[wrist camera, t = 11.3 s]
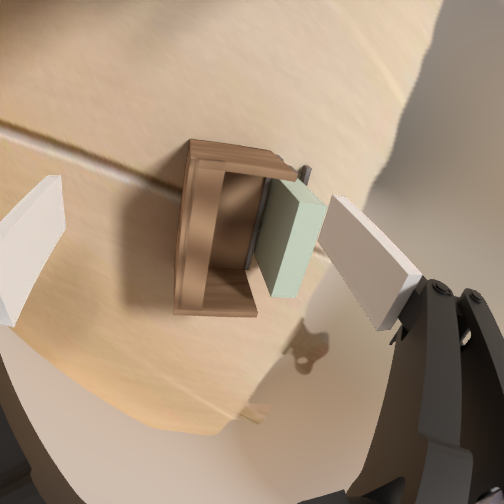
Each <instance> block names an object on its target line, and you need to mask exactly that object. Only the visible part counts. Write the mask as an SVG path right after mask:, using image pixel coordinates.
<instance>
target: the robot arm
mask: <svg viewBox="0 0 504 504" xmlns="http://www.w3.org/2000/svg"><path fill="white" fill-rule="evenodd" d="M65 229H66V223H65V215H64V206H63V195H62V182H61V175H47V176H46V177H45V178H44V179H43V180H42V181H41V182H40V183H38V184H37V185H36V186H35V187H34V188H33V189H32V190H31V191H30V192H29V193H28V194H27V195H26V196H25V197H24V198H23V199H22V200H21V201H20V202H19V203H18V204H17V205H16V206H15V207H14V208H13V209H12V210H11V211H10V212H9V213H8V214H7V215H6V216H5V217H4V219H3V220H2V221H1V222H0V325H3V326H9V327H15V324H16V322H17V320H18V317H19V315H20V313H21V311H22V308H23V306H24V304H25V302H26V300H27V298H28V296H29V294H30V292H31V290H32V288H33V286H34V284H35V282H36V280H37V278H38V276H39V274H40V272H41V270H42V268H43V267H44V265H45V263H46V261H47V259H48V258H49V256H50V254H51V252H52V251H53V249H54V247H55V245H56V244H57V242H58V240H59V239H60V237H61V235H62V234H63V232H64V231H65ZM318 242H319V244H320V245H321V247H322V248H323V250H324V251H325V253H326V254H327V255H328V257H329V258H330V260H331V261H332V263H333V264H334V266H335V267H336V269H337V270H338V272H339V273H340V275H341V276H342V277H343V279H344V281H345V282H346V284H347V285H348V287H349V288H350V290H351V292H352V293H353V295H354V296H355V298H356V299H357V301H358V302H359V304H360V306H361V307H362V308H363V310H364V312H365V313H366V315H367V317H368V318H369V320H370V321H371V323H372V325H373V326H374V328H375V330H376V331H383V330H390V329H391V328H392V326H393V325H394V323H395V322H396V320H397V319H398V318H399V320H400V322H401V323H402V325H401V326H400V328H399V329H398V331H397V333H396V334H395V336H394V337H393V339H392V340H391V342H390V344H389V345H392V344H393V342H395V341H396V345H395V350H394V355H393V360H392V365H391V370H390V375H389V380H388V384H387V388H386V393H385V397H384V401H383V405H382V409H381V412H380V416H379V420H378V423H377V427H376V430H375V433H374V437H373V440H372V443H371V446H370V449H369V452H368V455H367V458H366V461H365V464H364V467H363V469H362V471H361V473H360V475H359V476H358V478H357V479H356V480H355V481H354V482H353V483H352V485H351V486H350V488H349V490H348V491H347V493H346V494H345V491H344V490H341V491H338V492H334V493H331V494H328V495H324V496H321V497H317V498H313V499H310V500H306V501H302V502H300V503H297V504H504V338H503V336H502V334H501V332H500V330H499V327H498V325H497V323H496V321H495V319H494V317H493V315H492V313H491V311H490V309H489V307H488V305H487V303H486V301H485V300H484V298H483V297H482V296H481V294H480V293H478V292H477V291H476V290H472V289H468V288H467V289H465V290H464V291H463V293H462V295H461V297H456V296H454V295H453V293H452V291H451V290H450V289H449V288H448V287H447V286H446V285H445V284H443V283H442V282H440V281H437V280H434V279H430V280H427V279H426V278H425V277H424V276H423V275H422V273H421V272H420V271H419V270H418V269H417V268H416V267H415V266H414V265H413V264H412V263H411V261H410V260H409V259H408V258H407V257H406V256H405V255H404V254H403V253H402V252H401V251H400V250H399V249H398V248H397V247H396V246H395V245H394V244H393V243H392V242H391V241H390V239H388V237H386V235H385V234H383V232H382V231H381V230H380V229H379V228H378V227H376V225H374V223H372V222H371V221H370V220H369V219H368V218H367V217H366V216H365V215H364V214H363V213H362V212H361V211H360V210H359V209H358V208H357V207H356V206H355V205H354V204H353V203H351V202H350V201H349V200H348V199H347V198H346V197H345V196H339V195H332V197H331V200H330V204H329V207H328V210H327V213H326V217H325V220H324V223H323V226H322V229H321V232H320V235H319V238H318ZM469 331H471V338H470V339H469V340H468V342H467V343H466V344H465V345H463V342H462V340H463V339H464V338H465V337H466V335H467V334H468V332H469ZM0 504H86V503H85V502H84V501H83V500H82V499H81V498H80V497H79V496H78V495H77V494H76V492H75V491H74V490H73V489H72V487H71V486H70V485H69V483H68V482H67V480H66V479H65V478H64V476H63V475H62V473H61V472H60V471H59V469H58V467H57V466H56V465H55V463H54V462H53V460H52V458H51V457H50V455H49V454H48V452H47V450H46V449H45V448H44V445H43V444H42V442H41V440H40V439H39V437H38V435H37V433H36V432H35V430H34V428H33V426H32V424H31V422H30V421H29V419H28V417H27V415H26V413H25V411H24V409H23V407H22V405H21V403H20V401H19V399H18V396H17V394H16V392H15V390H14V387H13V385H12V383H11V380H10V378H9V376H8V373H7V371H6V368H5V366H4V363H3V360H2V357H1V354H0Z"/></svg>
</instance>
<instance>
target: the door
mask: <svg viewBox="0 0 504 504" xmlns="http://www.w3.org/2000/svg"><path fill="white" fill-rule="evenodd" d="M326 210H327V206H326V205H325V204H324V203H323V202H322V201H321V200H320V199H319V198H318V197H317V196H316V195H315V194H314V193H313V192H312V191H311V190H310V189H309V188H308V187H307V186H306V185H305V184H304V183H302V182H301V181H300V180H299V179H298V178H297V180H296V182H292V181H286V180H280V179H274V178H272V181H271V185H270V189H269V193H268V198H267V202H266V206H265V210H264V214H263V218H262V222H261V226H260V230H259V234H258V238H257V242H256V246H255V250H254V254H255V257H256V260H257V262H258V265H259V267H260V270H261V272H262V275H263V278H264V280H265V283H266V285H267V288H268V291H269V293H270V296H271V297H284V298H296V296H297V293H298V290H299V288H300V285H301V282H302V280H303V277H304V274H305V271H306V269H307V266H308V263H309V260H310V257H311V254H312V252H313V249H314V246H315V243H316V240H317V237H318V234H319V231H320V228H321V225H322V222H323V219H324V216H325V213H326Z"/></svg>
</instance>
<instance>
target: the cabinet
mask: <svg viewBox="0 0 504 504" xmlns="http://www.w3.org/2000/svg"><path fill="white" fill-rule="evenodd" d="M311 170H312V168H310V167H309V166H306V165H304V168H303V172H302V175H301V179H300V181H301V182H302V183H304V184H305V185H306V186H307V184H308V180H309V177H310V173H311ZM297 176H298V172H297V171H296V170H295V169H294V168H293V167H292V166H289V165H286V164H285V163H284V162H283V159H282V158H281V157H280V156H279V155H276V154H274V153H273V152H271V151H268V150H263V149H257V148H251V147H245V146H239V145H232V144H226V143H219V142H211V141H204V140H195V139H190V143H189V149H188V155H187V162H186V169H185V176H184V183H183V191H182V198H181V206H180V215H179V224H178V233H177V243H176V254H175V265H174V315H193V316H217V317H257V314H258V311H257V308H256V305H255V302H254V299H253V295H252V292H251V289H250V286H249V283H248V279H247V276H246V273H245V270H249V266H250V262H251V258H252V254H253V250H254V246H255V242H256V238H257V234H258V229H259V225H260V221H261V217H262V213H263V209H264V205H265V201H266V197H267V193H268V189H269V185H270V181H271V178H274V179H280V180H286V181H292V182H296V180H297Z"/></svg>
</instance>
